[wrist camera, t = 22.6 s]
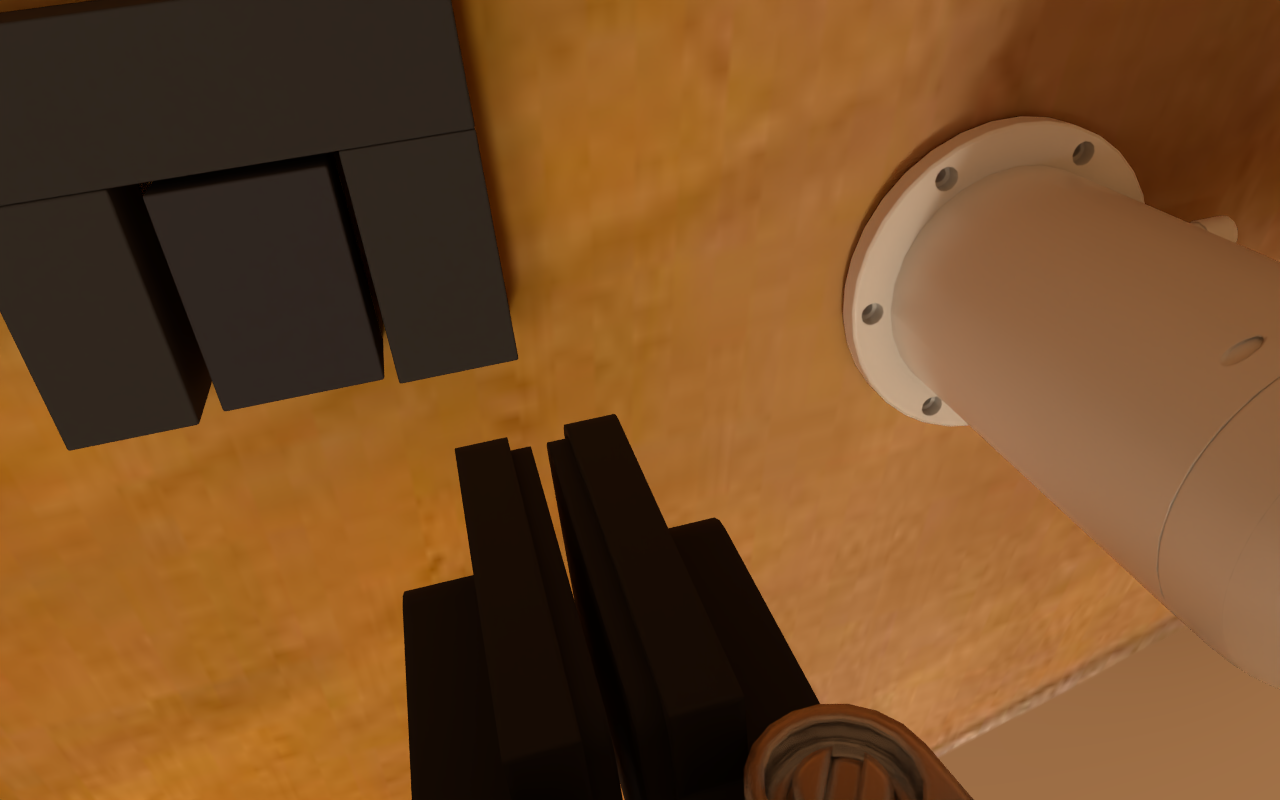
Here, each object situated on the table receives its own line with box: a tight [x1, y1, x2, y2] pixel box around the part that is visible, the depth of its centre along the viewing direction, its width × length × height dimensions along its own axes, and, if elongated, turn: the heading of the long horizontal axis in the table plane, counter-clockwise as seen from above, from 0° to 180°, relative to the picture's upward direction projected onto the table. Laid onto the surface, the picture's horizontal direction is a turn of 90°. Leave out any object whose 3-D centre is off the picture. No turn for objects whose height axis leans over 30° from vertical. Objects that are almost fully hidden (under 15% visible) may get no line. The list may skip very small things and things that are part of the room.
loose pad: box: [143, 152, 384, 411], centre depth 30 cm, size 5×7×3 cm
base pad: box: [0, 0, 518, 450], centre depth 28 cm, size 14×12×3 cm
